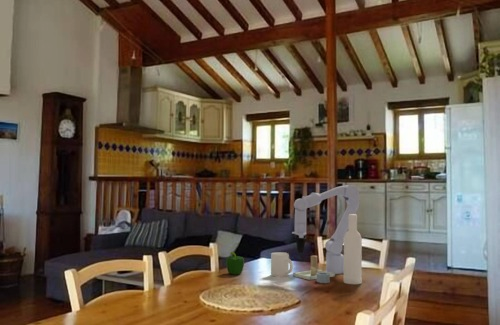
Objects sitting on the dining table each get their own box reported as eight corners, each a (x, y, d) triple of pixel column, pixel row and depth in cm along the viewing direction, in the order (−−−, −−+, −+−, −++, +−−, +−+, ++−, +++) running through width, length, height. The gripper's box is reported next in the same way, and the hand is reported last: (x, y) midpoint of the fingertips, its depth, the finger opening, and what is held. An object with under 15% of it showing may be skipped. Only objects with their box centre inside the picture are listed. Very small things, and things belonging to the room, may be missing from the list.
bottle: (343, 280, 205) (343, 213, 207) (361, 281, 204) (361, 214, 205) (343, 284, 197) (343, 214, 199) (362, 285, 196) (362, 215, 197)
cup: (322, 280, 205) (322, 272, 205) (332, 282, 200) (332, 274, 200) (313, 282, 201) (314, 273, 201) (323, 284, 197) (323, 275, 197)
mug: (298, 277, 211) (298, 254, 212) (285, 279, 206) (286, 256, 206) (279, 273, 220) (279, 251, 221) (267, 275, 215) (267, 253, 215)
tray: (317, 273, 222) (317, 269, 222) (334, 277, 213) (334, 273, 213) (293, 276, 212) (293, 272, 212) (310, 280, 204) (310, 276, 204)
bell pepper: (247, 274, 216) (247, 253, 217) (232, 276, 212) (232, 254, 212) (237, 271, 223) (238, 250, 224) (223, 273, 219) (223, 252, 219)
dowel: (313, 274, 215) (314, 255, 215) (318, 275, 213) (318, 256, 213) (309, 275, 213) (309, 256, 214) (313, 276, 211) (314, 256, 211)
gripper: (291, 221, 231) (291, 249, 230) (292, 224, 217) (292, 253, 216) (305, 222, 231) (305, 249, 230) (307, 224, 216) (307, 253, 216)
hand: (300, 251), depth 223 cm, fingers open, 7 cm apart
